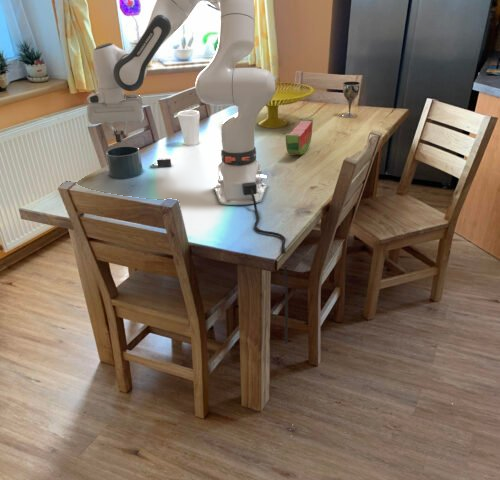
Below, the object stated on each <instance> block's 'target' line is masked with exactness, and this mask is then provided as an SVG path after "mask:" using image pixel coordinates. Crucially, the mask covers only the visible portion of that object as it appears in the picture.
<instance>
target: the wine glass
mask: <svg viewBox="0 0 500 480" xmlns="http://www.w3.org/2000/svg"><path fill="white" fill-rule="evenodd" d="M360 85H361V83H360V82H359V81H345V82H343V83H342V93H343V97H344V99H345V100H346V102H347V103H348V112H347V113H344V114H342V115H341V116H342V117H343V118H355V117H357V115H356V113H355V114H354V113H351V108H352V104H353V102H354V101H355V99H356V98H357V97H358V95H359V92H360V88H361V87H360Z"/></svg>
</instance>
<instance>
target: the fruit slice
mask: <svg viewBox="0 0 500 480" xmlns="http://www.w3.org/2000/svg"><path fill="white" fill-rule="evenodd" d="M313 122H314V118H309V117H307V118H306V117H303V118H300V121H299V123H298V124H297V125H296V126H295V127H294V128H293V129H292V131H290V132H289V134H288V133H286V134H285V144H286V145H285V147H286V151H287V154H288V155H298V156H300V155H304V154H305V153H306V151H307V150H308V148H309V146H310V144H311V141H312V137H313V126H314V125H313V124H314V123H313Z"/></svg>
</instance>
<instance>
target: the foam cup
mask: <svg viewBox="0 0 500 480" xmlns="http://www.w3.org/2000/svg"><path fill="white" fill-rule="evenodd" d="M177 119H178V122H179V126H180V131H181V134H182V138H183V143H184V146H188V147H189V146H196V145H198V144H199V143H200V119H201V116H200V111H199V110H195V109H187V110H182V111H179V112H177Z"/></svg>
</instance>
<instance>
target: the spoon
mask: <svg viewBox="0 0 500 480" xmlns="http://www.w3.org/2000/svg"><path fill="white" fill-rule="evenodd" d="M114 136H115V142H116V143H122V142H123V140H125V139H126V138H127V134H126V135H121V129H120V130H118V129H117V132H116V134H115V135H114Z"/></svg>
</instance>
